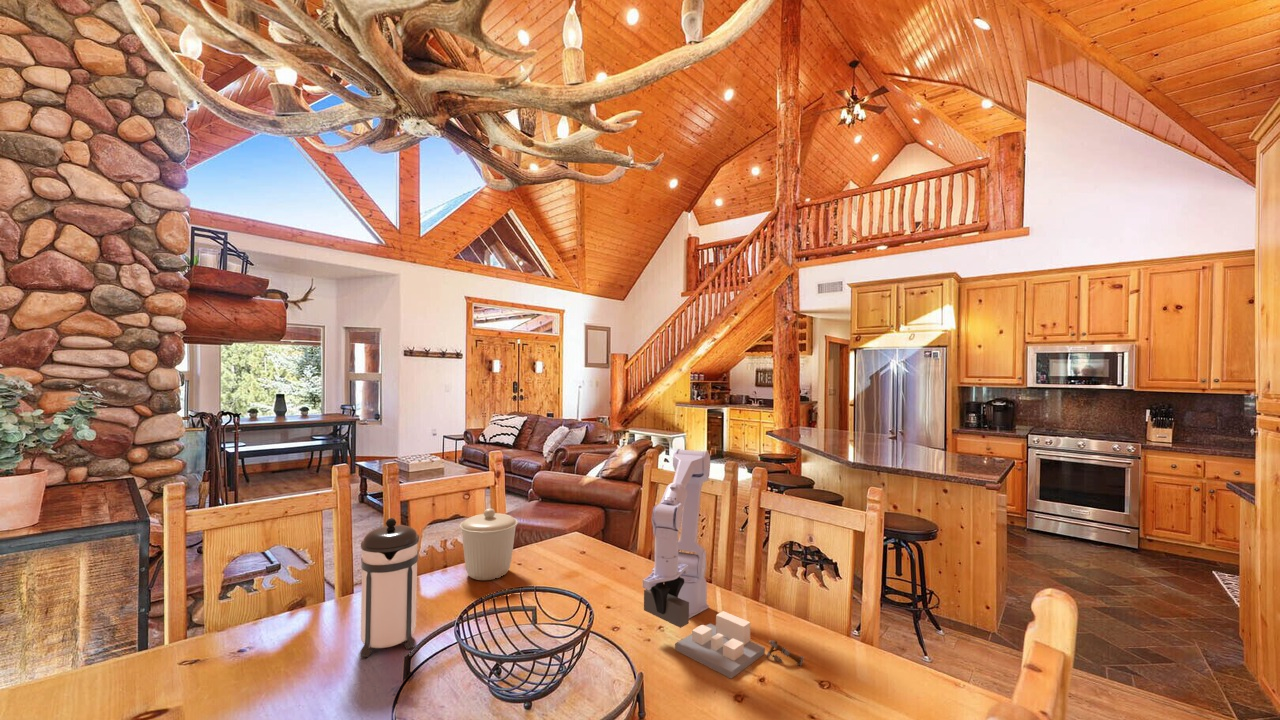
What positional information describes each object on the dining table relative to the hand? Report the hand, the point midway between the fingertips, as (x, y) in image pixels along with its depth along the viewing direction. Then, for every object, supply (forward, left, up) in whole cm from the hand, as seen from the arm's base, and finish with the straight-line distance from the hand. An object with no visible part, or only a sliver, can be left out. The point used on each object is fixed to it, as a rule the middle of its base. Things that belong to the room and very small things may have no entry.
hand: (665, 610), depth 126 cm
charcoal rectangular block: (0, 0, -2) cm, 2 cm away
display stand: (-7, +11, -8) cm, 16 cm away
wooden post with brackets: (-14, +24, -9) cm, 30 cm away
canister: (+9, -68, -9) cm, 69 cm away
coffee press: (+47, -49, -9) cm, 68 cm away
